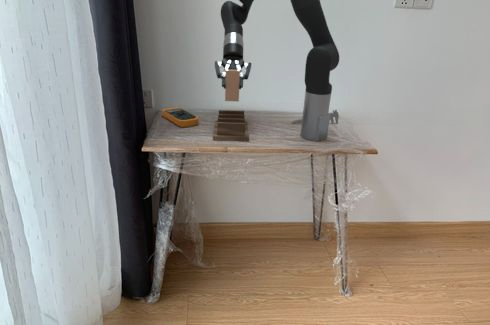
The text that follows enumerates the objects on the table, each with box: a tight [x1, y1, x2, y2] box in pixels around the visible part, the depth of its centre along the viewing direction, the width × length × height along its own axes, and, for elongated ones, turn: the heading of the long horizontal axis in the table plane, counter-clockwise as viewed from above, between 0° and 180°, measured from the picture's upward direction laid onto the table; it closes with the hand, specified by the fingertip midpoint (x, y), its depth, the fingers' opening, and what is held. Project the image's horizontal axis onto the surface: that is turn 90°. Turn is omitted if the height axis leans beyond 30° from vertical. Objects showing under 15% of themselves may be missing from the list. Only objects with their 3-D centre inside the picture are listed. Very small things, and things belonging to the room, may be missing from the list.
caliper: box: [290, 108, 340, 125], centre depth 152 cm, size 20×1×6 cm, turn 97°
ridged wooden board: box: [212, 109, 250, 142], centre depth 137 cm, size 19×13×6 cm
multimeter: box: [161, 106, 199, 128], centre depth 148 cm, size 9×18×3 cm, turn 37°
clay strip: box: [224, 69, 240, 103], centre depth 131 cm, size 2×5×11 cm, turn 92°
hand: (232, 87), depth 130 cm, fingers closed on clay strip, 5 cm apart
